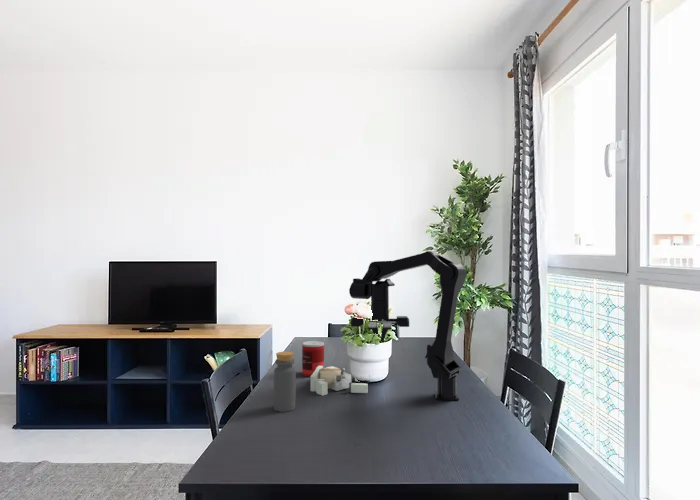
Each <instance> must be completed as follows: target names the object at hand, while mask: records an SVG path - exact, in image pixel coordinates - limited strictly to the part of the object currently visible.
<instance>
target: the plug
mask: <svg viewBox="0 0 700 500" xmlns="http://www.w3.org/2000/svg"><path fill="white" fill-rule="evenodd" d="M327 367H328V368H326V367H324V368H322V369H320V370H319V379H324V381H325V382H327V383H328V389H329V390H330V389H332V381H334V380H336V375H341V369H340V368H338V367H336V368H333V367H331V366H327ZM332 390H333V389H332Z"/></svg>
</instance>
